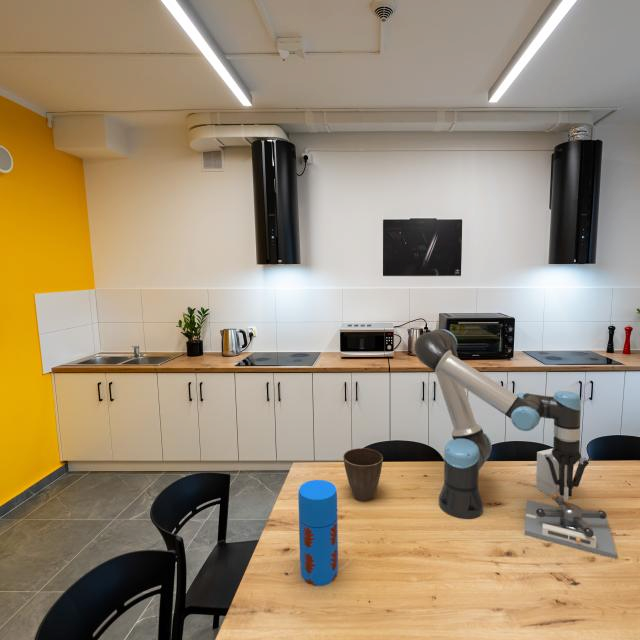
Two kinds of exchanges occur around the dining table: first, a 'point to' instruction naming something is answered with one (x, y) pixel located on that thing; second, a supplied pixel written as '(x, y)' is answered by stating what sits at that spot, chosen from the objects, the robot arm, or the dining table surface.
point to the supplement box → (547, 474)
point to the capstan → (571, 515)
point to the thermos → (318, 532)
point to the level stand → (569, 531)
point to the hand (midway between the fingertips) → (565, 504)
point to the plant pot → (363, 472)
